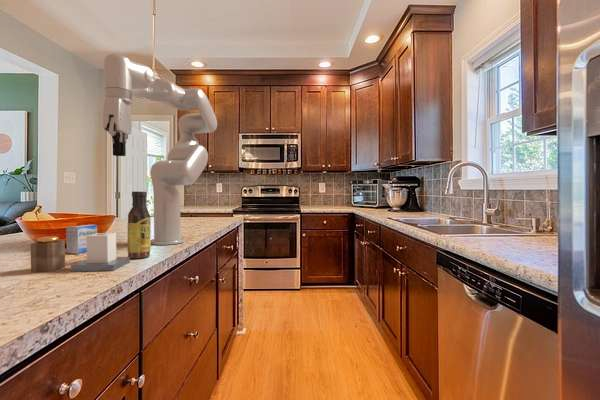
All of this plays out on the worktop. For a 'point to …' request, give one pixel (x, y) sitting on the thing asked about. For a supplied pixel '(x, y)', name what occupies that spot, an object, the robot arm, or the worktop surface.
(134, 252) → the sauce bottle
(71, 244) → the medicine box
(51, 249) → the brown block
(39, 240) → the press pin
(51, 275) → the worktop surface
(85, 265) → the plate
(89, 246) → the block
